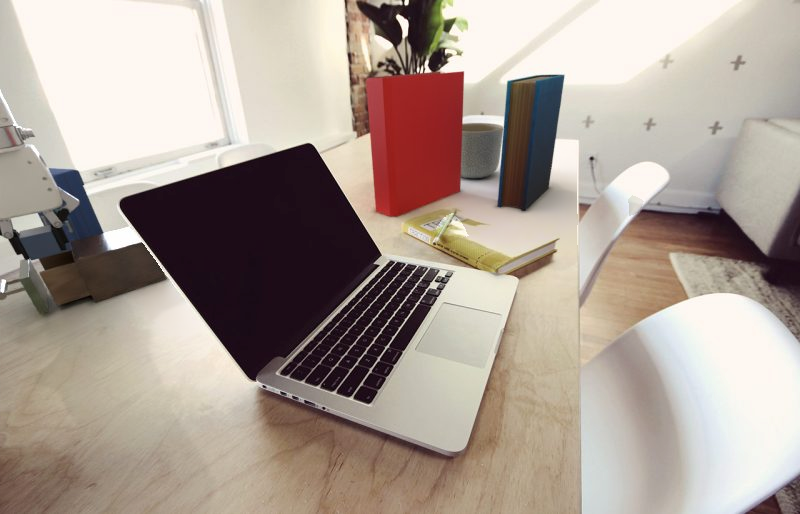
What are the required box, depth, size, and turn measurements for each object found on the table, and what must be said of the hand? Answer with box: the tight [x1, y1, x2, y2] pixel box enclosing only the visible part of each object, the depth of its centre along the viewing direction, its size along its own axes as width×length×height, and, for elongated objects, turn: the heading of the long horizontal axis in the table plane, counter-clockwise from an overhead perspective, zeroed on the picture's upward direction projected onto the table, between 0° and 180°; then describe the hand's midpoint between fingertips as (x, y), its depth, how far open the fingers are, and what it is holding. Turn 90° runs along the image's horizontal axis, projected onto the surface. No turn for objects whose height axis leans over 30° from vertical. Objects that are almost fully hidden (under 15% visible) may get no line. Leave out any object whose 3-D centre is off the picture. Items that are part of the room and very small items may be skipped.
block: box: [19, 225, 62, 262], centre depth 63 cm, size 4×4×4 cm
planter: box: [461, 122, 504, 180], centre depth 124 cm, size 17×17×15 cm
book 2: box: [497, 74, 566, 212], centre depth 101 cm, size 24×9×30 cm, turn 146°
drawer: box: [0, 249, 92, 315], centre depth 66 cm, size 14×9×7 cm, turn 131°
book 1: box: [365, 70, 465, 217], centre depth 100 cm, size 27×8×32 cm, turn 135°
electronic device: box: [37, 167, 105, 251], centre depth 75 cm, size 10×5×20 cm, turn 73°
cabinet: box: [70, 226, 167, 303], centre depth 72 cm, size 11×10×8 cm
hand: (45, 251), depth 64 cm, fingers closed on block, 4 cm apart
